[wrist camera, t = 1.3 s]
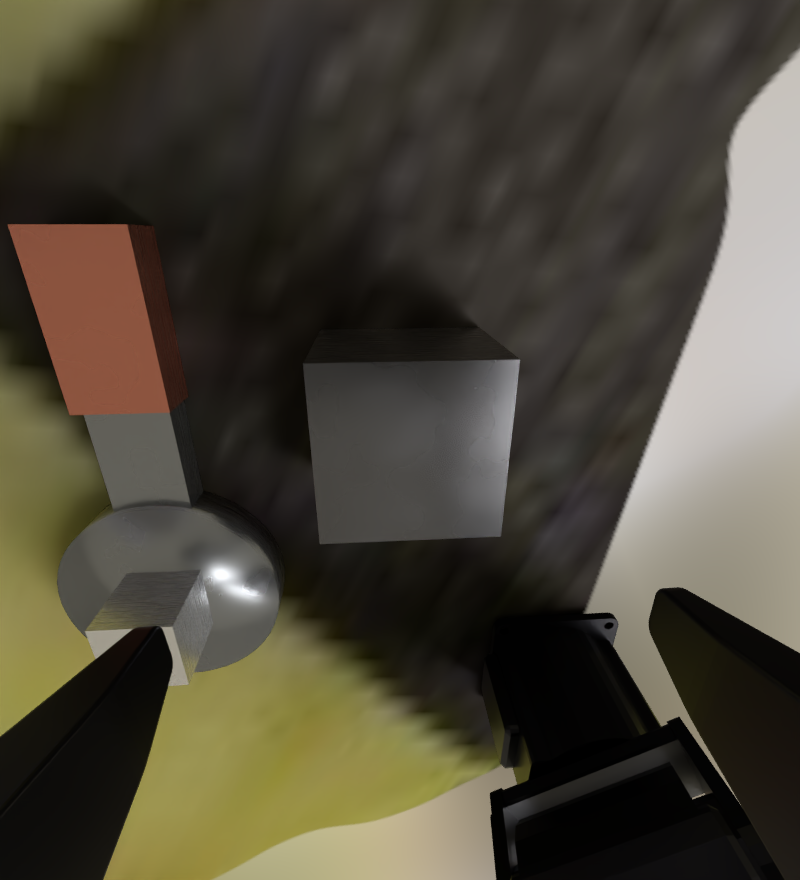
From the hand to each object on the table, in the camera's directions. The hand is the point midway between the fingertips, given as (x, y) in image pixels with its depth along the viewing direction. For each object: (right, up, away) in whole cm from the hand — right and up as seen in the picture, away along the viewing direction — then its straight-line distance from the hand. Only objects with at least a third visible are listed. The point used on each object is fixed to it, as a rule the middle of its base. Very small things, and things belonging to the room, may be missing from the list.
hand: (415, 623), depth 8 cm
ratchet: (-10, +2, +11) cm, 15 cm away
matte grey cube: (0, +5, +10) cm, 11 cm away
